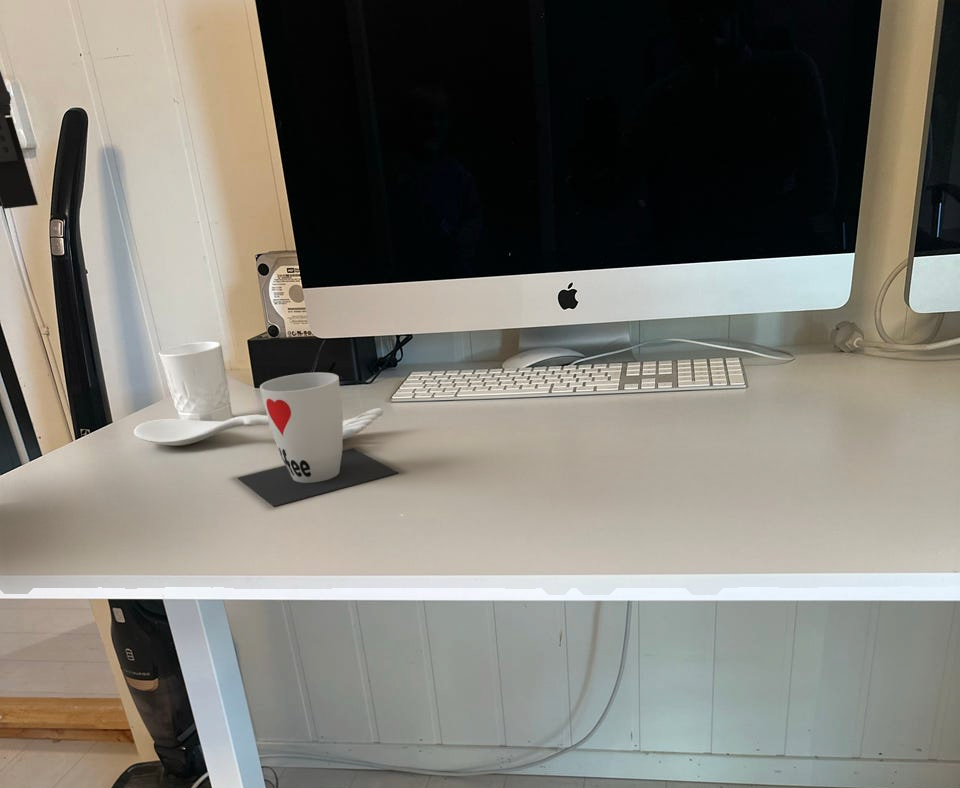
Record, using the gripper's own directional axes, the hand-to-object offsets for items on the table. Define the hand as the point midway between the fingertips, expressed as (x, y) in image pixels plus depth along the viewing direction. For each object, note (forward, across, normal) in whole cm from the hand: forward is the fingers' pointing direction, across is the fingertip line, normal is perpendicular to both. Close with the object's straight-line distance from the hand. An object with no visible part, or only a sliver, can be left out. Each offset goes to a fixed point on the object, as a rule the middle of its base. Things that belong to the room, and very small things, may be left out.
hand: (11, 207), depth 82 cm
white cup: (+29, +24, -18) cm, 42 cm away
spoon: (+29, +10, -20) cm, 36 cm away
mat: (+29, -8, -21) cm, 36 cm away
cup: (+29, -8, -21) cm, 37 cm away
